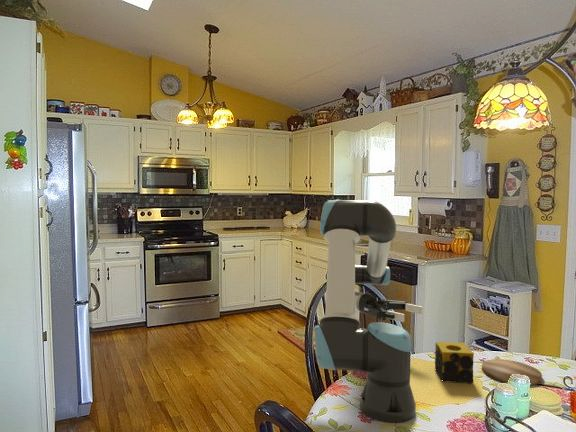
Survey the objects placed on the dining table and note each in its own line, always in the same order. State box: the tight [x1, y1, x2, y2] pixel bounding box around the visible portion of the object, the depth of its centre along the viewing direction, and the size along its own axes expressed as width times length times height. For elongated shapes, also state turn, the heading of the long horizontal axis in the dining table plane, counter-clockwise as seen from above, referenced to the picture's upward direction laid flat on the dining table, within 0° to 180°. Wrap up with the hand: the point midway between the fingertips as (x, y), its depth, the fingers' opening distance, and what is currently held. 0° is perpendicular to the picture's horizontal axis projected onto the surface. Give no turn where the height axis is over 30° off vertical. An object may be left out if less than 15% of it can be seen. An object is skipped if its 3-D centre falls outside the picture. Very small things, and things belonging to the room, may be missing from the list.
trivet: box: [481, 358, 543, 386], centre depth 145 cm, size 18×18×2 cm
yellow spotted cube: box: [434, 341, 475, 384], centre depth 142 cm, size 10×10×10 cm
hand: (413, 314), depth 152 cm, fingers open, 13 cm apart
